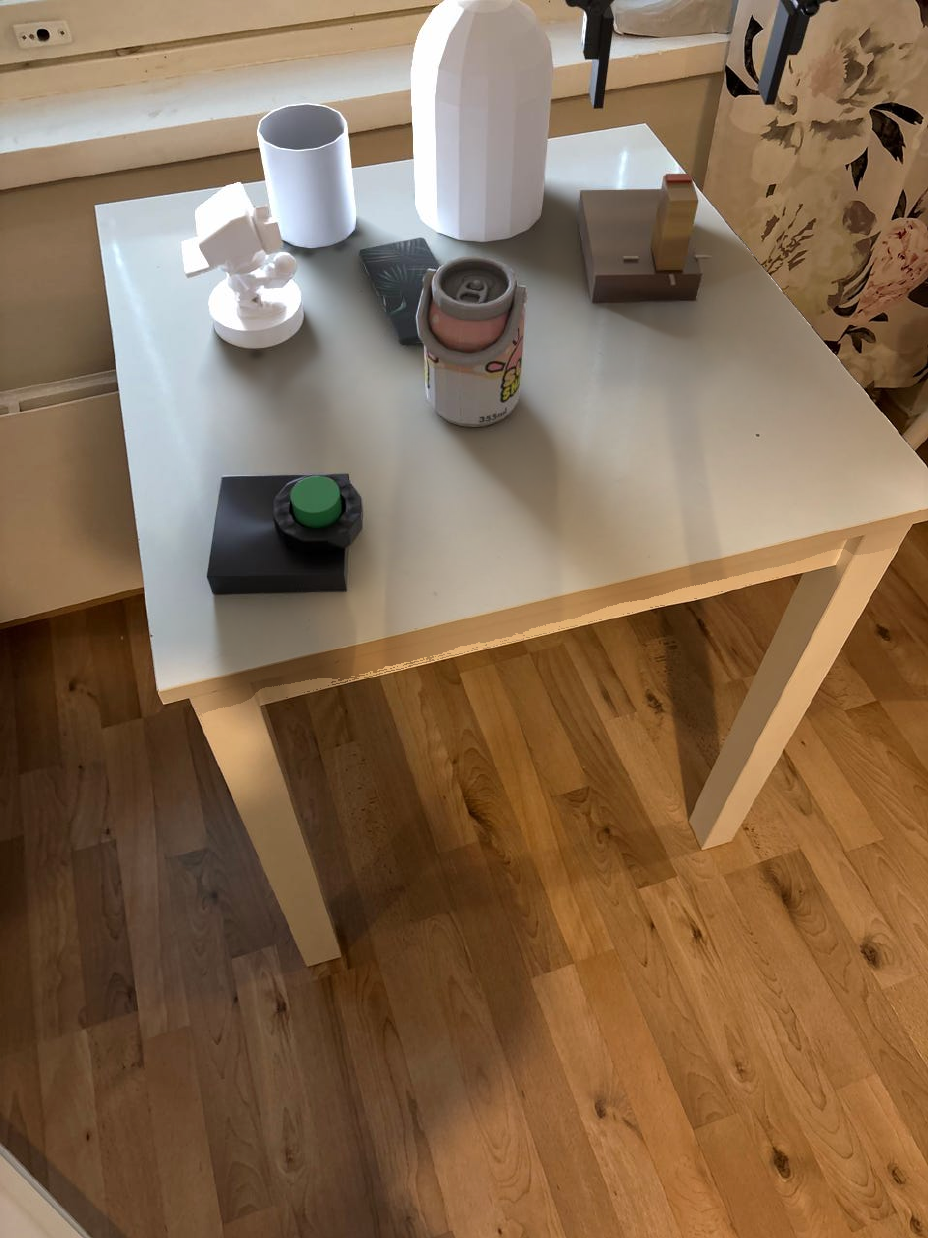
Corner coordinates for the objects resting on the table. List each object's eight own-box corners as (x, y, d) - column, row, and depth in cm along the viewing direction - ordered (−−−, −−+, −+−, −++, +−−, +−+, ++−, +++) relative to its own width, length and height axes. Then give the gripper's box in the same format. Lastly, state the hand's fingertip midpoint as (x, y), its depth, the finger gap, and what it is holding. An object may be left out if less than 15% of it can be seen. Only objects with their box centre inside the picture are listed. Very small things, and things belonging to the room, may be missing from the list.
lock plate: (710, 311, 90) (717, 282, 87) (593, 313, 90) (597, 284, 87) (683, 215, 99) (689, 186, 96) (577, 216, 98) (580, 188, 96)
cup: (352, 248, 95) (342, 151, 87) (270, 247, 95) (252, 150, 87) (358, 200, 100) (349, 103, 92) (280, 199, 100) (264, 102, 92)
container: (567, 221, 98) (589, 9, 81) (450, 256, 94) (448, 41, 78) (506, 157, 105) (515, -52, 88) (395, 186, 101) (383, -24, 85)
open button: (341, 527, 70) (338, 512, 68) (292, 528, 70) (288, 513, 68) (343, 491, 72) (340, 475, 70) (295, 492, 72) (292, 476, 70)
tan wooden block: (683, 270, 88) (699, 197, 82) (656, 270, 88) (670, 198, 82) (676, 244, 91) (691, 171, 85) (650, 244, 91) (663, 172, 85)
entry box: (363, 591, 71) (359, 558, 68) (212, 594, 71) (200, 561, 67) (367, 491, 77) (363, 456, 73) (227, 494, 76) (216, 459, 73)
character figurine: (309, 340, 87) (290, 221, 77) (205, 356, 86) (172, 236, 76) (297, 282, 92) (277, 163, 82) (198, 296, 91) (166, 176, 81)
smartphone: (423, 235, 95) (472, 325, 87) (424, 244, 96) (472, 334, 87) (357, 248, 94) (400, 341, 85) (358, 257, 94) (400, 350, 86)
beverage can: (504, 450, 79) (511, 333, 69) (408, 430, 81) (401, 312, 71) (530, 377, 84) (540, 259, 75) (439, 359, 86) (437, 241, 76)
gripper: (929, -278, 60) (823, 70, 78) (538, -274, 59) (520, 77, 77) (971, -240, 56) (849, 119, 74) (551, -236, 55) (528, 126, 73)
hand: (680, 98), depth 75 cm, fingers open, 13 cm apart
